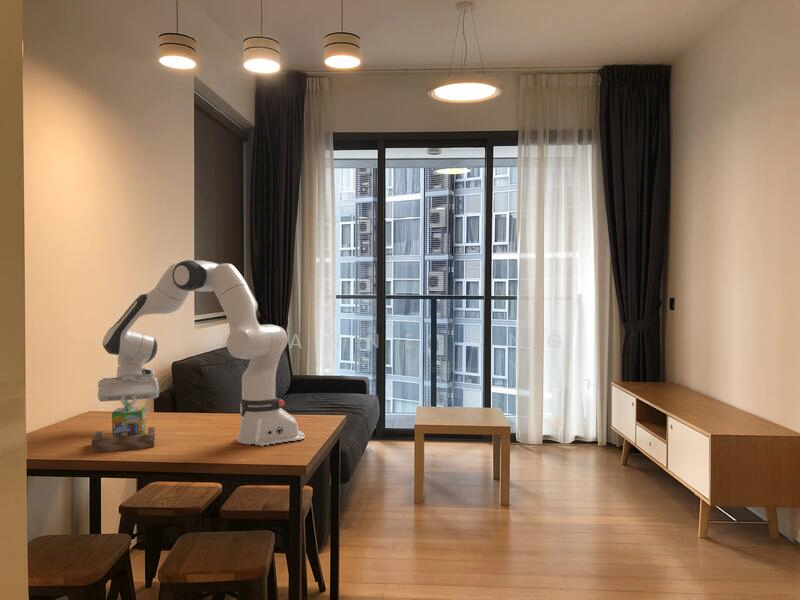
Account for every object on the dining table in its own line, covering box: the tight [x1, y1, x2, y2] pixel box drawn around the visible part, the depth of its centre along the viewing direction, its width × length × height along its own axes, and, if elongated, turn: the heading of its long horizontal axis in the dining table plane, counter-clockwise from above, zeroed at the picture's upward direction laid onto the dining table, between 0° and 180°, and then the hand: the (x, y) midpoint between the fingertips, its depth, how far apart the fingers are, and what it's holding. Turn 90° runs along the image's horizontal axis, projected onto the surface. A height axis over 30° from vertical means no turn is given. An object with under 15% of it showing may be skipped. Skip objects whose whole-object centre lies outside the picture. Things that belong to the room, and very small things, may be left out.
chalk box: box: [111, 399, 147, 437], centre depth 196 cm, size 9×9×15 cm
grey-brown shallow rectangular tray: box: [91, 426, 156, 453], centre depth 194 cm, size 18×12×4 cm, turn 111°
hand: (128, 408), depth 212 cm, fingers closed
